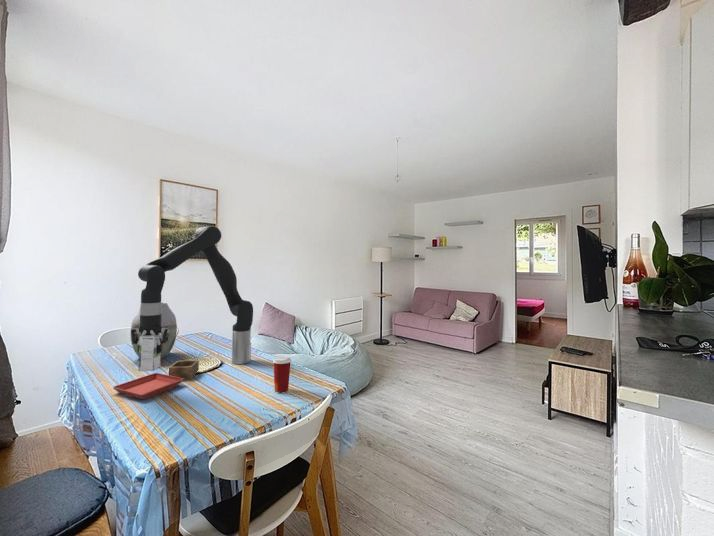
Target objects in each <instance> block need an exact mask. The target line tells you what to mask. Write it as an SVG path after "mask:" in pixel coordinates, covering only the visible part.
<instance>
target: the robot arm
mask: <svg viewBox="0 0 714 536" xmlns="http://www.w3.org/2000/svg"><path fill="white" fill-rule="evenodd" d="M194 231H195V232H194V238H193V239H192V240H190V241H187V242H186V243H184V244H182V245H179V246H177V247H175V248H174V249H171V250H170V251H168V252H167V253H165V254H163V256H161V257H159V258H156V259H154V260H152V261H150V262H147V263H145V265H143V266H141V267H140V268H139V270H138V272H137V275H138V278H139V280H141V281H142V282H146V285H145V288H143V289H142V290H141V294H140V305H139V307H140V308H139V310H140V327H139V328H138V329H137V328H135V329H132V330H131V329H130V332H131V336H132V343H133V344H137V345H138V353H139V342H140V339H138V333H139V332H140V333H141V334H142V335H141V336H145V335H152V336H156V340H157V344H158V345H157V354H160V353H161V352H162V350H163V343H166V342H167V341H168V337H169V331H170V329H169V328H167V329H166V328H162V326H161V322H162V305H161V302H162V291H163V288H164V284H165V281H166V272H169V271H173V270H174V269H177V267H179V266H181V265H182V264H183V263H185V262H187V261H188V260H189V259H191V258H192V257H194V256H195V255H197V254H198V253H200V252H202V253H203V255H204V256H205V258H206V260H207V263H208V264H209V266H210V269H211V270H212V272H213V275H214V277H215V280H216V281H217V283H218V285H219V287H220V290H221V291H222V293H223V295H224V296H225V299H226V303H227V305H228V308H229V310H230V313H231V314H232V315H233V316H234V317H236V322H235V323H234V324H233V325H232V332H231V333H232V336H231V338H232V342H231V363H232V364H233V365H234V364H235V365H243V364H249V363H250V361H251V360H252V342H251V337H252V336H251V333H252V332H251V331H252V325H253V322H254V321H253V319H254V305H253V303H252V302H250V301H249V300H244V299H242V297H241V295H240V293H239V291H238V286H237V285H238V281H237V280H238V279H237V275H236V273H235V271H234V268H233V266H232V265H231V263H230V262H229V261H228V260H227V259H226V258H225V257H224V256H223V255H222V254H221V253H220V251H219V250H218V248H217V246H216V244H218V243H220V241H221V239H222V232H221V230H220V229H219V228H218V227H217V226H213V225H207V226H201V227H198V228H197V229H196V230H194ZM161 331H162V333H163V340H162V338H161V335H160V332H161ZM157 335H160V336H159V337H157ZM131 336H130V337H131ZM132 343H131V344H132Z"/></svg>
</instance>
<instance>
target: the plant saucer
mask: <svg viewBox="0 0 714 536" xmlns="http://www.w3.org/2000/svg"><path fill="white" fill-rule="evenodd" d="M182 381H184V379H183V378H179V377H174V376H170V375H169V374H164V373H159V372H154V373H151V374H147V375H144V376H141V377H138V378H135V379H133V380H130V381H126V382H124V383H123V382H122V383H120V384H118V385H114V386H112V388H113V389H114V390H115V391H116V392H117V393H119V394H122V395H126V396H128V395H129V397H131V398H132V397H133V398H136V399H139V400H146V399H149V398H151V397H154V396H157V395H159V394H161V393H164V392H166V391H169V390H171V389H174V388H176V387H177V386H179V384H181V382H182Z"/></svg>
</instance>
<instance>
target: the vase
mask: <svg viewBox="0 0 714 536" xmlns="http://www.w3.org/2000/svg"><path fill="white" fill-rule="evenodd" d="M161 305H162V322H161V326H162V328H166V329H167V328H169V329H170V331H169V337H168V341H167V342H166V343H163V350H162V352H161V360H162V359H164V358H166V357H167V356H168V355H169V354H170V352H171V351H172V349H173V347H174V345H175V342H176V338H177V335H178V325H177V324H178V322H177V319H176V318H177V317H176V314H175V313H174V312H173V310H172V309H171V308H170V306H169V305H168V303H167V301H161ZM139 327H140V309H139V310H138V311H137V312H136V313H135V315H134V317H133V318H132V322H131V325H130V335H129V336H130V341H131V346H132V349H133V350H134V352H135V354H136V355H137V356H138V358H139V353H138V345H137V344H133V343H132V336H131V330H132V329H135V328H137V329H138V328H139ZM160 334H162V336H161V338H162V340H163V333H162V331H161V332H160ZM141 335H142V334H141V333H140V332H139V333H138V339H140V336H141Z"/></svg>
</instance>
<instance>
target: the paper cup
mask: <svg viewBox="0 0 714 536" xmlns="http://www.w3.org/2000/svg"><path fill="white" fill-rule="evenodd" d="M272 363H273V381H274V382H273V384H274V385H273V386H274V387H273V388H274V392H275V393H276V392H279V393H278V394H283V393H282V392H285V393H287V392H288V391H289V385H290V375H291V374H290V373H291V363H292V359H291V356H290V355H285V354H284V355H277V356H275V357H274V358H273V360H272ZM286 391H287V392H286Z"/></svg>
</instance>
